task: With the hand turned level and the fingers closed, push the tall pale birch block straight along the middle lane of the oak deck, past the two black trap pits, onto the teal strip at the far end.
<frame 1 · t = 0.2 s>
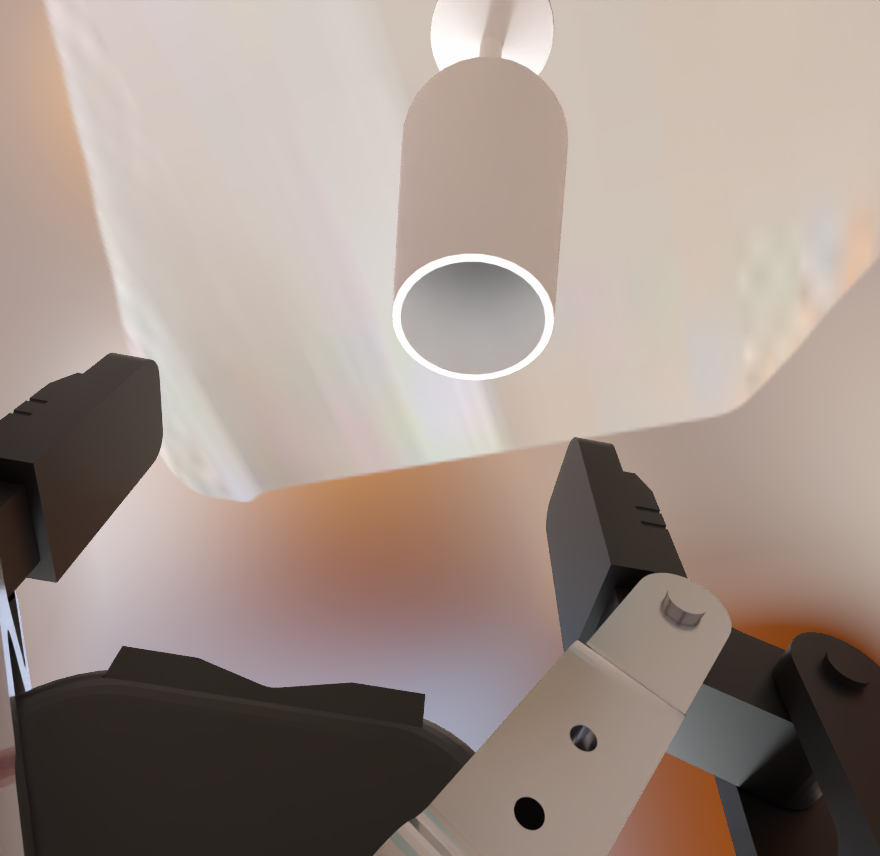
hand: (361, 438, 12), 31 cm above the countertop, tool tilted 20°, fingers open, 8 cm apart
champagne flute: (491, 35, 34), on the countertop
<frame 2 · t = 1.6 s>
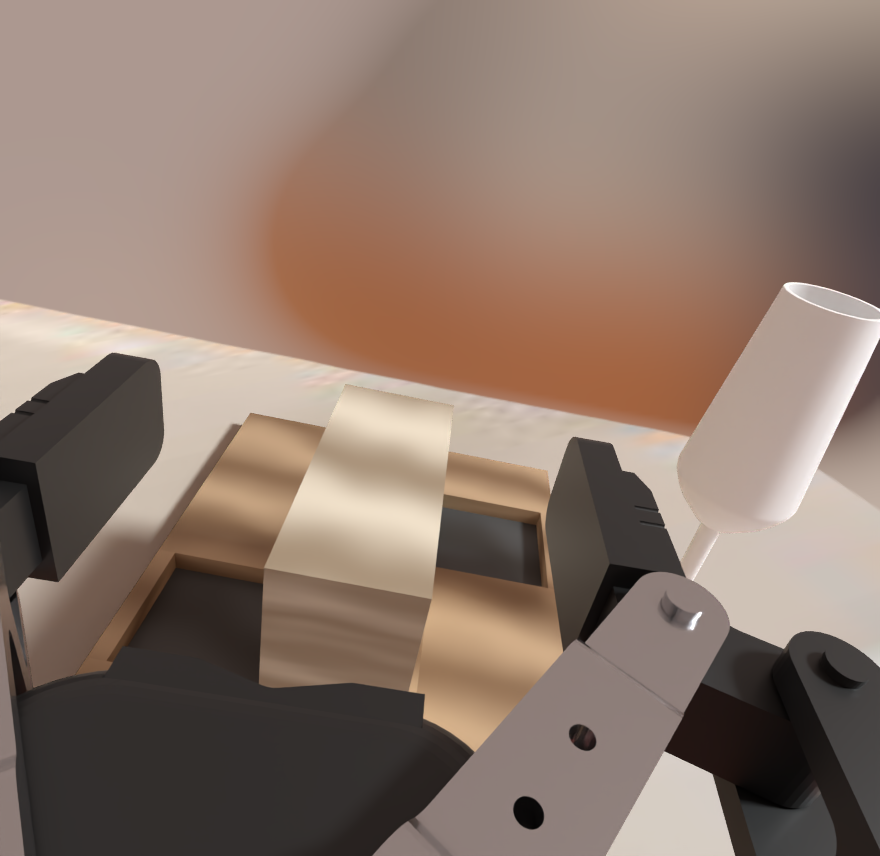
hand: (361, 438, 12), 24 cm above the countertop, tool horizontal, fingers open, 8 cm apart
trap deck: (365, 592, 40), on the countertop
birch block: (349, 654, 35), point 1 cm above the countertop, touching trap deck
champagne flute: (653, 632, 42), on the countertop
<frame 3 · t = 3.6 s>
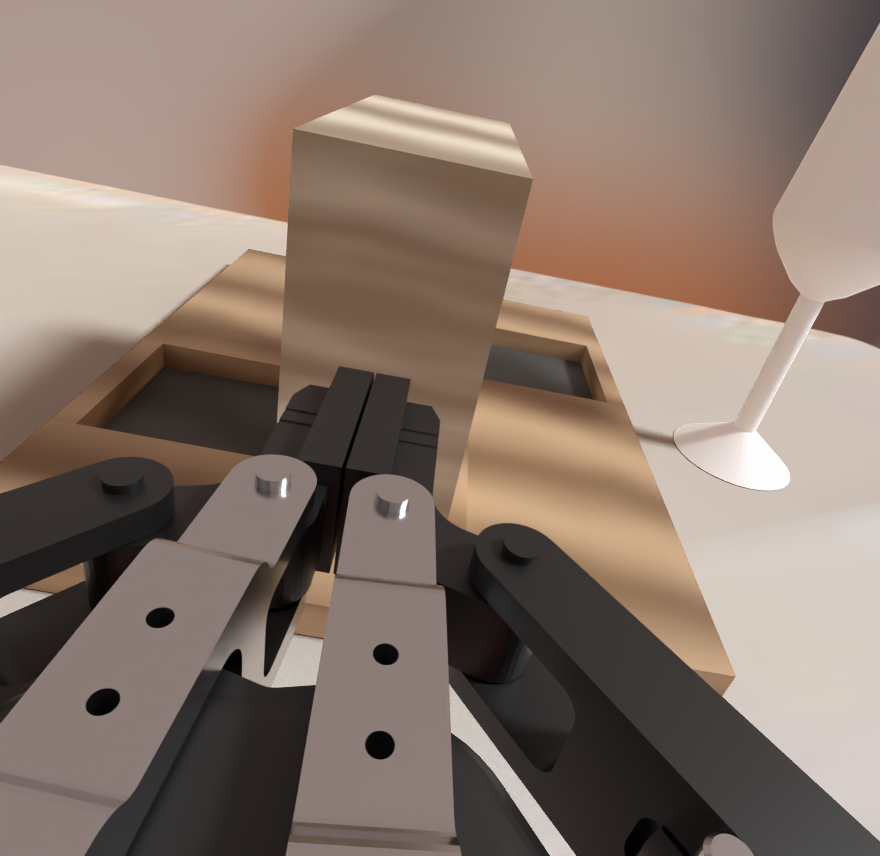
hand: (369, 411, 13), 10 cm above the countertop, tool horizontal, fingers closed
trap deck: (392, 402, 34), on the countertop
birch block: (381, 438, 28), point 1 cm above the countertop, touching trap deck
champagne flute: (728, 457, 36), on the countertop
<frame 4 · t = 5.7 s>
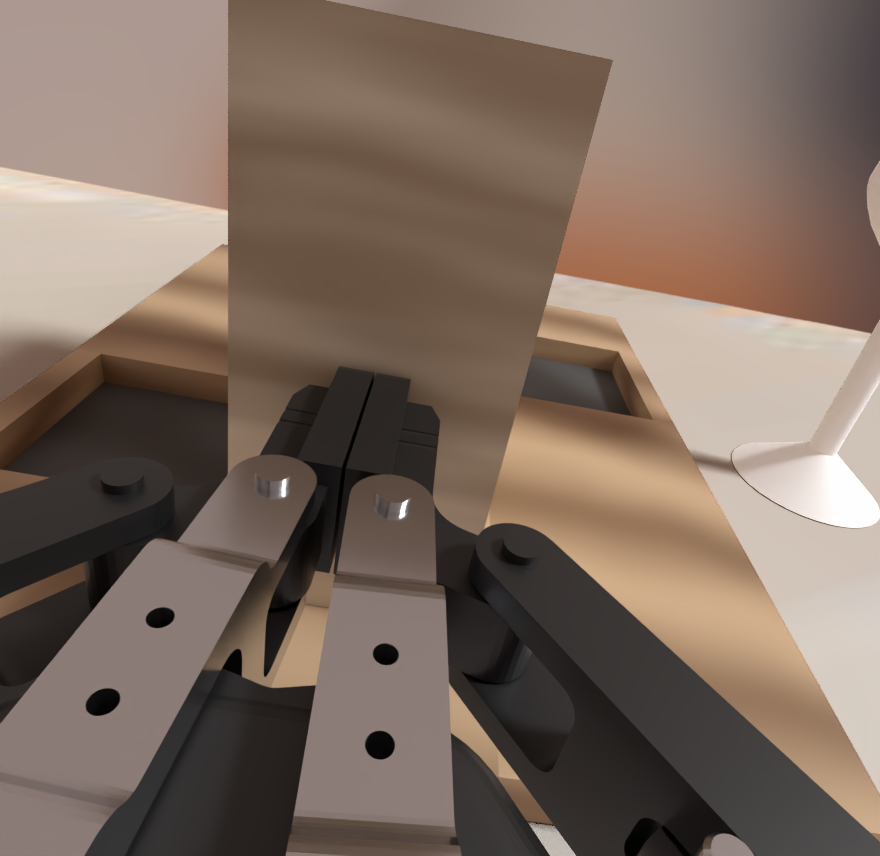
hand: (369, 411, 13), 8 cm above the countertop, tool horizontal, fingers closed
trap deck: (390, 423, 27), on the countertop
birch block: (379, 461, 22), point 2 cm above the countertop, touching gripper, trap deck
champagne flute: (801, 484, 30), on the countertop
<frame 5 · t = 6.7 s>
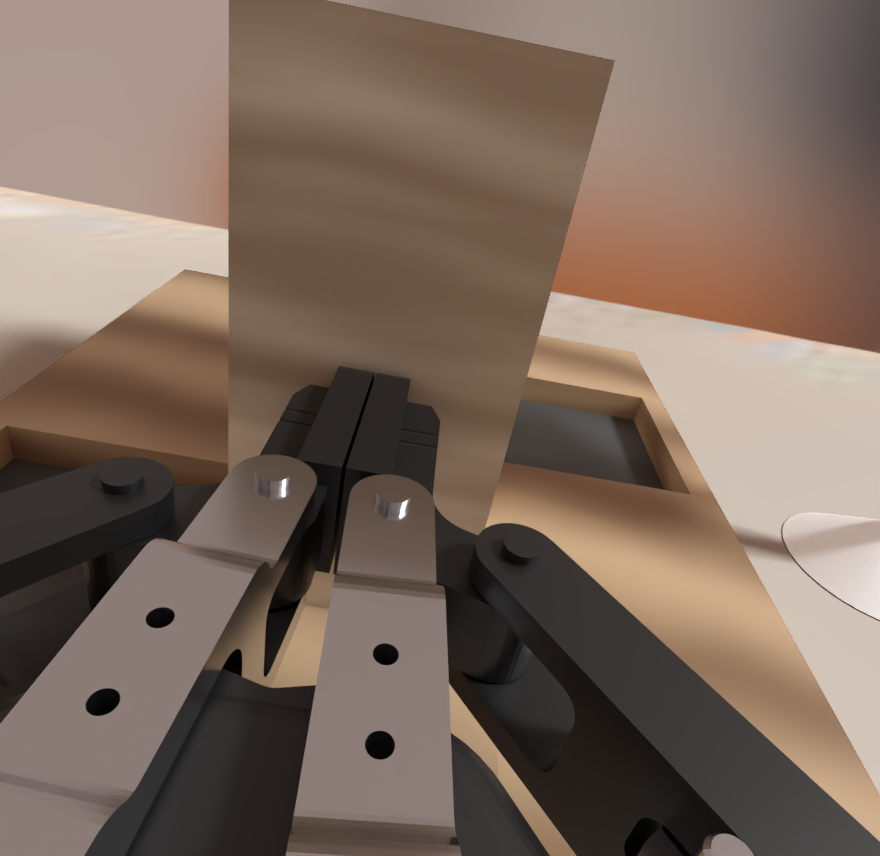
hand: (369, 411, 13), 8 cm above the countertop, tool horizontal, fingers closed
trap deck: (370, 504, 22), on the countertop
birch block: (379, 461, 22), point 2 cm above the countertop, touching gripper, trap deck
champagne flute: (867, 570, 25), on the countertop
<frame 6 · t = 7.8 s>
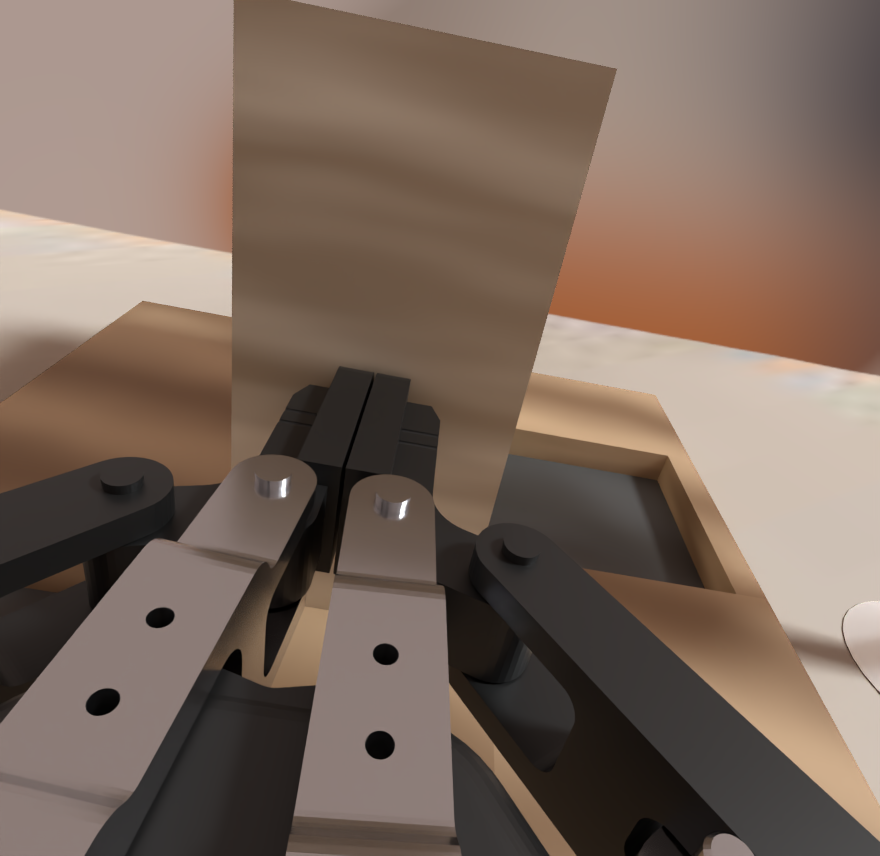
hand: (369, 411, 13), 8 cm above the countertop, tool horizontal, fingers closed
trap deck: (343, 614, 18), on the countertop
birch block: (381, 463, 22), point 2 cm above the countertop, touching gripper
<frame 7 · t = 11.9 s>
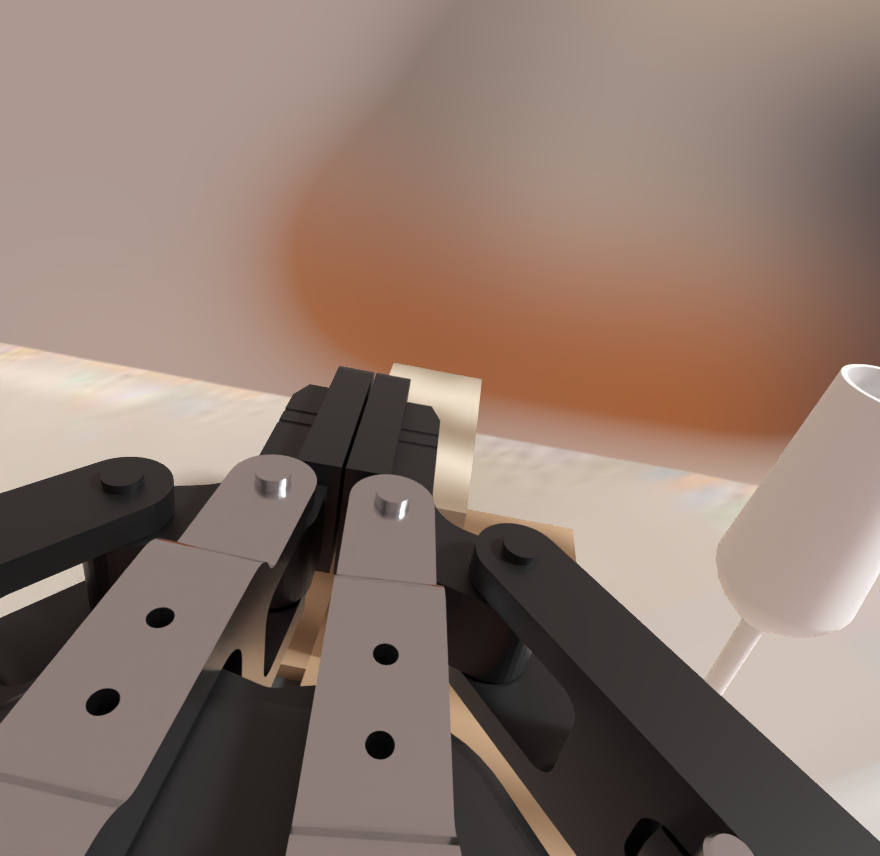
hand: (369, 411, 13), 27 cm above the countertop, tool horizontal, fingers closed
trap deck: (374, 682, 38), on the countertop
birch block: (398, 582, 43), point 1 cm above the countertop, touching trap deck
champagne flute: (689, 724, 39), on the countertop
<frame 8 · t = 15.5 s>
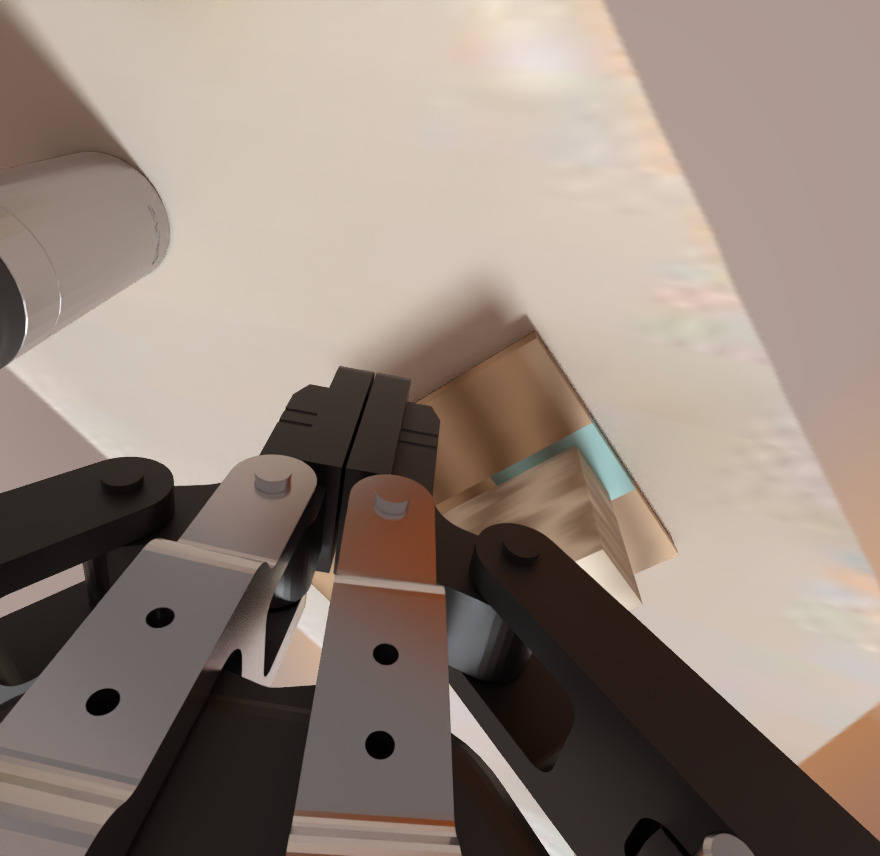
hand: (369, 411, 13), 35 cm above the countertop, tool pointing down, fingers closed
trap deck: (459, 524, 59), on the countertop
birch block: (522, 504, 56), point 1 cm above the countertop, touching trap deck
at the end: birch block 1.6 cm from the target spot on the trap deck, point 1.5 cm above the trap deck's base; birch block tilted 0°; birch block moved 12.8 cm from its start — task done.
